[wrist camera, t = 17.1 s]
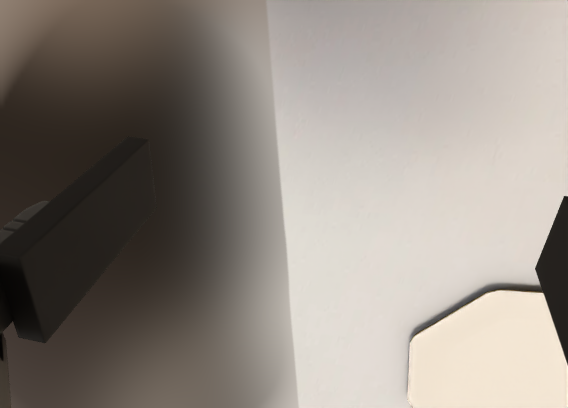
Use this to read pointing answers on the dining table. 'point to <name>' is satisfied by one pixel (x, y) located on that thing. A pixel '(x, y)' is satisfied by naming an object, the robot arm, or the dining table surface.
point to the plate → (490, 356)
